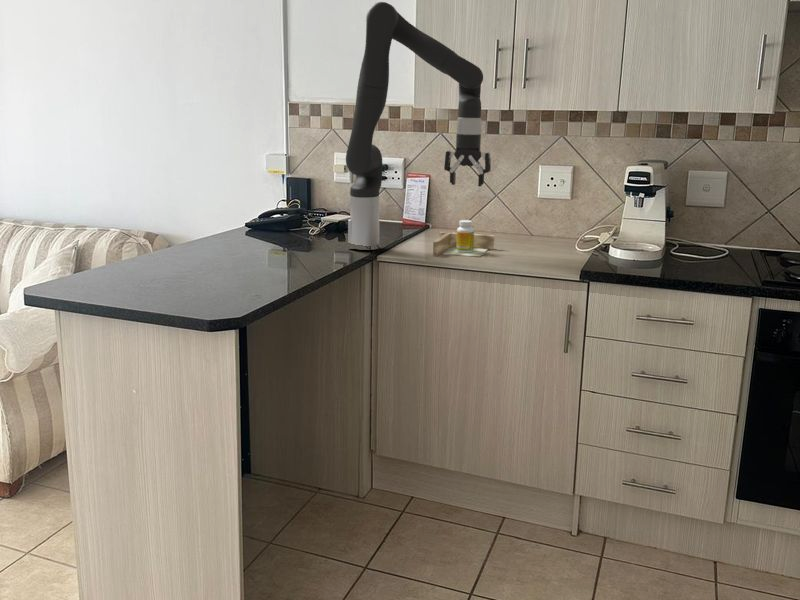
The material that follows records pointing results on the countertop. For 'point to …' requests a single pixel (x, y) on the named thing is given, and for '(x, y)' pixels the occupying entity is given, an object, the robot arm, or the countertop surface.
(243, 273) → the countertop surface
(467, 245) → the supplement bottle
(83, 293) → the countertop surface
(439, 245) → the corner arena
